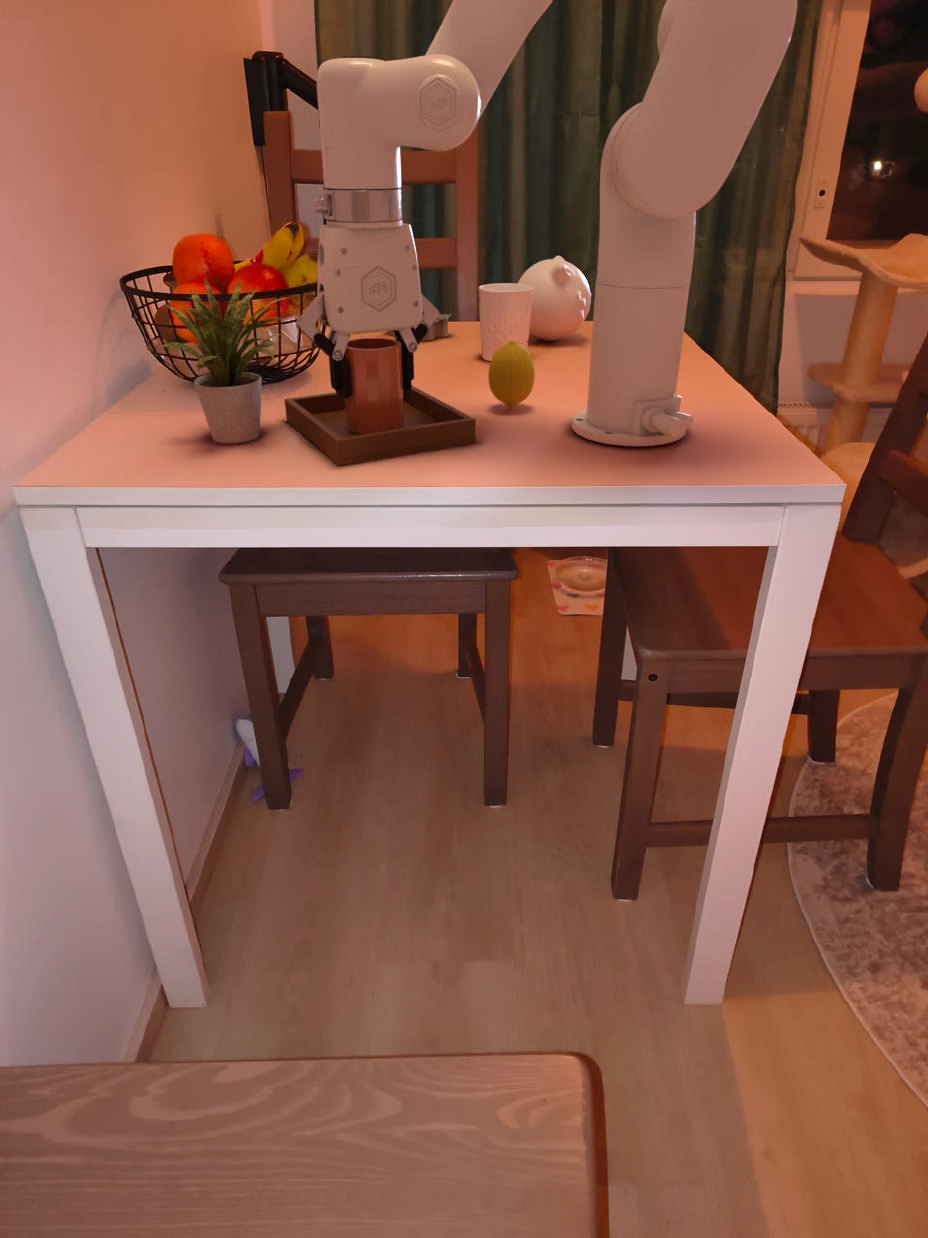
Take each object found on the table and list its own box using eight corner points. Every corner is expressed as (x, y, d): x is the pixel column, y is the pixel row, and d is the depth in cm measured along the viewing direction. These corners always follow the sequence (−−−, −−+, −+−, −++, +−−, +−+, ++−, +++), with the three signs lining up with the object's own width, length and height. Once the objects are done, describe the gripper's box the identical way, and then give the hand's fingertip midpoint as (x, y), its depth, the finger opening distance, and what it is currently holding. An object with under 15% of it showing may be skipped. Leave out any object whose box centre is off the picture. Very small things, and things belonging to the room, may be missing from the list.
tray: (475, 442, 89) (475, 419, 88) (339, 466, 83) (337, 440, 82) (408, 403, 103) (407, 382, 101) (286, 420, 96) (284, 398, 95)
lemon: (482, 412, 99) (482, 343, 95) (496, 400, 104) (497, 334, 100) (526, 416, 98) (528, 346, 94) (538, 404, 102) (541, 337, 98)
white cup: (531, 352, 128) (533, 283, 123) (529, 364, 121) (532, 291, 116) (480, 351, 128) (480, 282, 123) (475, 363, 121) (476, 290, 116)
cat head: (508, 330, 143) (510, 253, 137) (584, 331, 142) (590, 253, 136) (507, 349, 130) (509, 264, 124) (591, 350, 129) (597, 265, 123)
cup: (413, 429, 91) (410, 345, 87) (359, 438, 89) (353, 352, 84) (390, 415, 96) (386, 335, 92) (338, 422, 94) (332, 340, 89)
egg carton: (381, 333, 141) (379, 308, 139) (414, 327, 145) (413, 303, 143) (421, 342, 134) (421, 316, 132) (455, 335, 139) (455, 310, 137)
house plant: (287, 461, 84) (268, 290, 76) (153, 460, 84) (119, 290, 76) (312, 420, 96) (298, 270, 88) (195, 420, 97) (170, 270, 89)
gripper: (290, 214, 75) (308, 410, 84) (459, 209, 82) (459, 389, 91) (267, 209, 81) (286, 392, 90) (426, 204, 88) (429, 375, 97)
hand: (373, 389), depth 91 cm, fingers closed on cup, 6 cm apart
